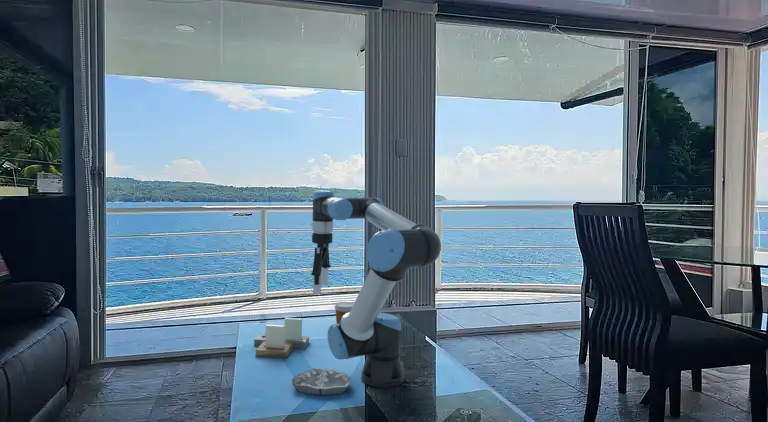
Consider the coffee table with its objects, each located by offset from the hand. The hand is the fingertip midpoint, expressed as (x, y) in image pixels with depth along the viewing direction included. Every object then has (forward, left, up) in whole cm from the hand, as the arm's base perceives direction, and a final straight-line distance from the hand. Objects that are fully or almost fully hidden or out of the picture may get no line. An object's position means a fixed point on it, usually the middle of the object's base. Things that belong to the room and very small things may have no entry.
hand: (320, 289), depth 194 cm
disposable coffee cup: (+42, -3, -29) cm, 51 cm away
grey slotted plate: (+19, +20, -29) cm, 40 cm away
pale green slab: (+8, +20, -29) cm, 36 cm away
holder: (+8, +20, -29) cm, 36 cm away
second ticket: (+19, +15, -29) cm, 38 cm away
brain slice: (-19, -5, -29) cm, 35 cm away
